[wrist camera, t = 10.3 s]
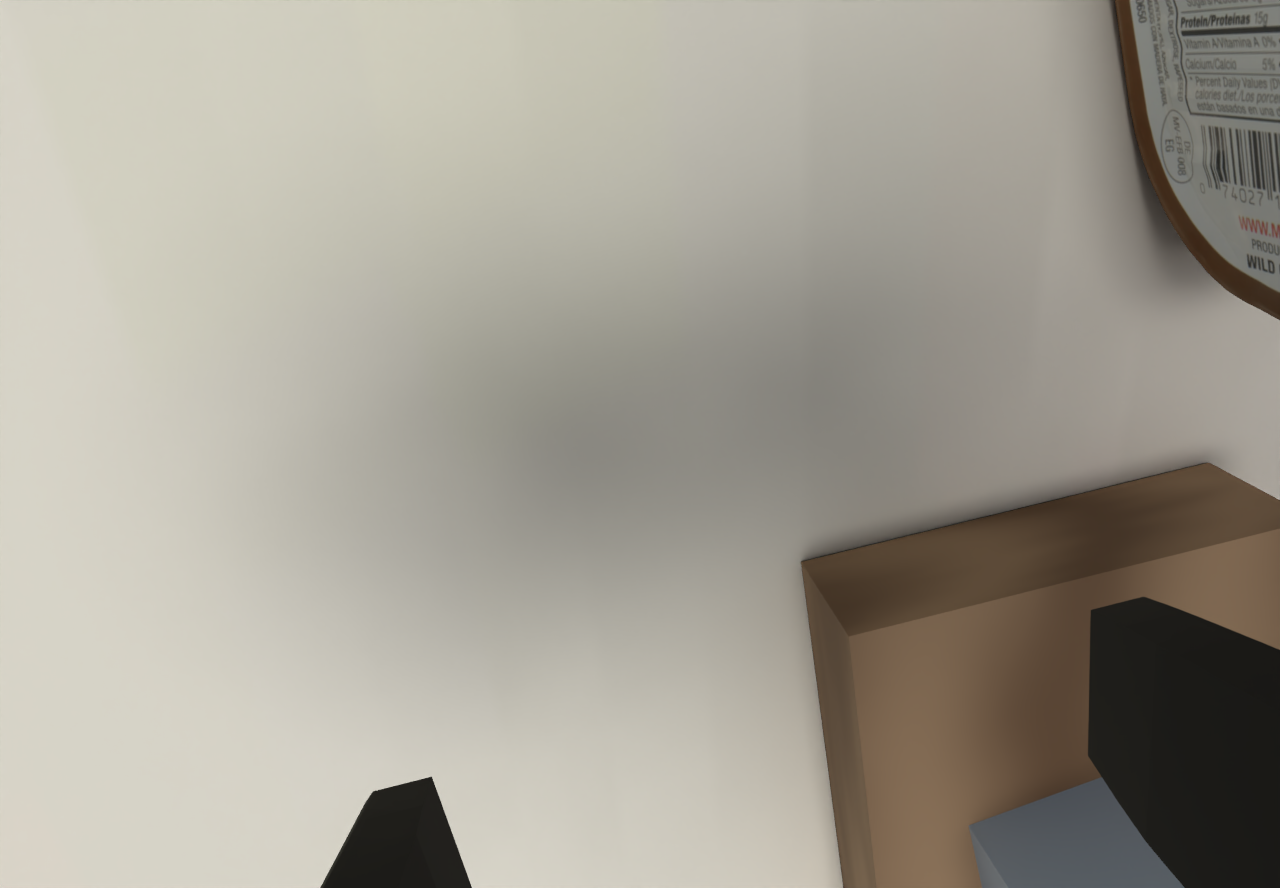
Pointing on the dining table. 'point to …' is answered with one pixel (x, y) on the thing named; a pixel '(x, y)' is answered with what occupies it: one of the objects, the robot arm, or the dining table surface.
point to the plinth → (1006, 654)
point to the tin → (1212, 130)
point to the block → (1067, 845)
